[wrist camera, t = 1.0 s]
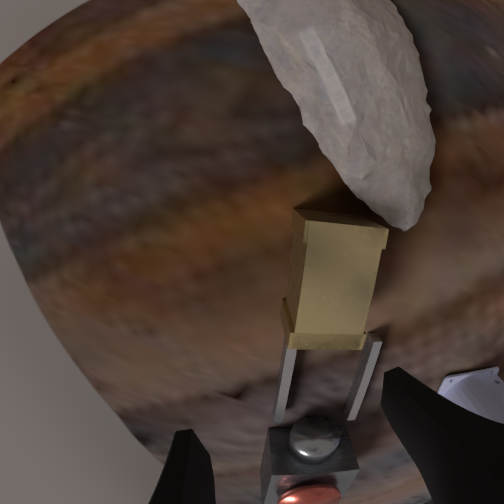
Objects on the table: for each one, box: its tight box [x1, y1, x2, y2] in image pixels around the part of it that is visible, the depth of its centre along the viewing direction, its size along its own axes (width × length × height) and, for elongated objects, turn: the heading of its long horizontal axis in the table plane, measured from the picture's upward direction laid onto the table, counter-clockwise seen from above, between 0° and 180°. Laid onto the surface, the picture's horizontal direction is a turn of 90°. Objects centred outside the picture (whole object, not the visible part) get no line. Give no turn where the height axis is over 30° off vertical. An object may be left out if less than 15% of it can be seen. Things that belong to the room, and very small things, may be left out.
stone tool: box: [237, 0, 436, 231], centre depth 16 cm, size 12×5×25 cm
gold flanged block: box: [280, 208, 389, 350], centre depth 20 cm, size 5×8×5 cm, turn 175°
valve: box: [260, 333, 382, 504], centre depth 23 cm, size 8×22×7 cm, turn 175°
